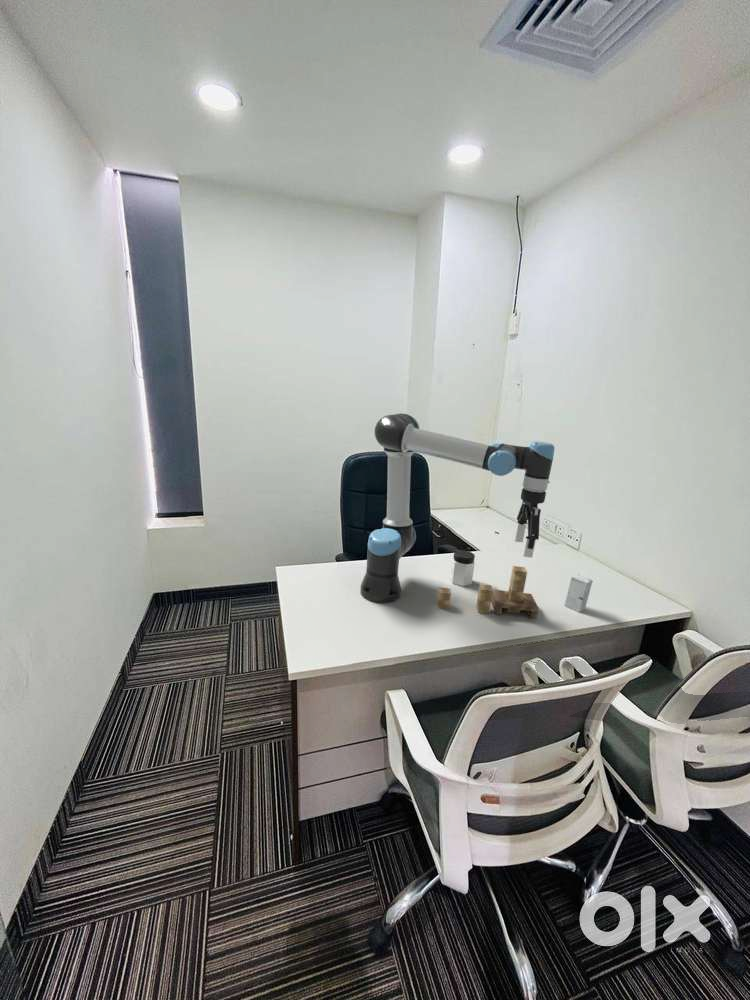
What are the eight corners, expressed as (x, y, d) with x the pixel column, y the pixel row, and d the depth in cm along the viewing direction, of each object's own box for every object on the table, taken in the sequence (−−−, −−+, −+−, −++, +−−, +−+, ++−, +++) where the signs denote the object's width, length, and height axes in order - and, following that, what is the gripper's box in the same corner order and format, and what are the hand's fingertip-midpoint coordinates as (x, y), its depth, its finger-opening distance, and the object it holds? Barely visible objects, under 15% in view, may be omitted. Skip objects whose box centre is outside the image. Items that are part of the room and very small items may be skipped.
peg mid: (477, 612, 145) (481, 589, 143) (476, 606, 149) (479, 584, 146) (489, 613, 145) (493, 590, 142) (487, 608, 148) (491, 585, 146)
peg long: (508, 611, 147) (515, 570, 142) (505, 606, 151) (512, 565, 146) (519, 613, 146) (527, 572, 142) (517, 607, 150) (524, 567, 146)
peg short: (437, 607, 146) (439, 592, 145) (437, 602, 150) (439, 587, 148) (448, 609, 146) (451, 593, 144) (448, 603, 150) (450, 588, 148)
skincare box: (563, 605, 154) (570, 576, 151) (570, 602, 157) (576, 573, 153) (580, 613, 149) (587, 582, 146) (586, 609, 152) (593, 580, 149)
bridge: (495, 614, 144) (497, 603, 143) (490, 600, 154) (492, 589, 153) (536, 619, 143) (538, 607, 142) (529, 604, 153) (531, 593, 151)
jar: (448, 575, 172) (452, 549, 168) (468, 576, 172) (472, 550, 168) (452, 586, 163) (456, 558, 160) (473, 587, 163) (477, 559, 160)
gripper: (557, 500, 124) (544, 565, 130) (536, 481, 148) (525, 537, 154) (532, 498, 125) (519, 562, 131) (514, 479, 149) (505, 534, 154)
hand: (522, 549), depth 142 cm, fingers open, 13 cm apart
